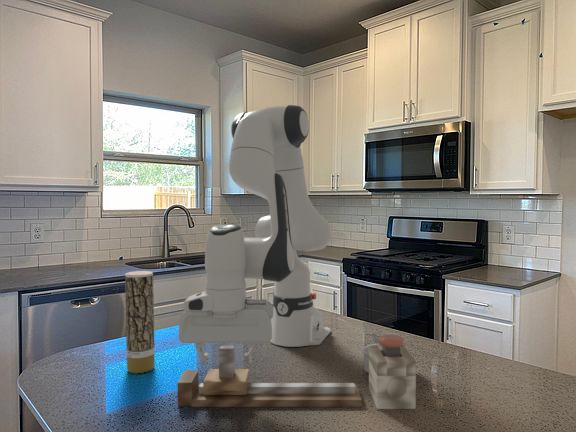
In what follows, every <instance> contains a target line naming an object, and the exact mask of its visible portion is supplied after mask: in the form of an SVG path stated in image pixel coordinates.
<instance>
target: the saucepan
mask: <svg viewBox="0 0 576 432" xmlns="http://www.w3.org/2000/svg"><path fill="white" fill-rule="evenodd" d="M371 337H372V339H373V340H374V342H375V343H372V344H368V345H366V346H364V347H362V352H363V369H364V371H365V372H366V373H368V374H369V346H381V345H380V344H379V337H378V336H377V333H371ZM407 351H408V352H409V350H408V349H407ZM409 353H410V352H409Z"/></svg>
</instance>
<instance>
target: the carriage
mask: <svg viewBox="0 0 576 432" xmlns="http://www.w3.org/2000/svg"><path fill="white" fill-rule="evenodd" d="M235 363H236V362H235V345H220V347H219V349H218V368H209V369H208V371H207V373H206V376H205V377H204V380H203V382H202V383H203V391H205V395H247V384H248V383H250V382H249V379H250V368H235V365H236V364H235Z"/></svg>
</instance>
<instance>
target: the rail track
mask: <svg viewBox="0 0 576 432" xmlns="http://www.w3.org/2000/svg"><path fill="white" fill-rule="evenodd" d="M407 350H408V349H407V348H406V346H404V345H403V346H402V347H400V357H384V356H383V354H382V346H369V373H368V390H369V392H370V395H371V397H372V400H373V402H374V404H375V407H376V409H377V410H416V409H417V408H416V399H417V398H416V394H417V393H416V392H417V388H416V387H417V384H416V383H417V382H416V381H417V361H416V359H414V357H413V355H411V353H410V352H408V351H409V350H408V351H407ZM199 373H200V372H199V369H184V371H183V373H182V374H181V376H180V378H179V380H178V381H177V383H176V384H177V387H176V388H177V406H179V407H182V406H183V407H187V406H188V407H191V408H206V407H207V408H213V407H214V408H261V407H262V408H296V407H297V408H298V407H299V408H307V407H308V408H309V407H310V408H335V407H336V408H362V407H363V399H362V396H361V393H360V390H359V387H358V385H357V383H355V382H249V383H248V384H247V395H205V391H203V382H201V383H199V382H200V381H199V380H200V379H199V377H200V376H199Z"/></svg>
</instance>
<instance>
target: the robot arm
mask: <svg viewBox="0 0 576 432" xmlns="http://www.w3.org/2000/svg"><path fill="white" fill-rule="evenodd" d="M309 123H310V122H309V117H308V114H307V112H306V110H305V109H304V108H303V107H302V106H299V105H294V104H288V105H286V106H285V105H282V106H279V105H278V106H268V107H265V108H259V109H256V110H251V111H243V112H241V113H239V114H237V115H236V116H235V117H234V119H233V120H232V122H231V127H230V129H231V137H232V143H231V147H230V152H229V153H230V154H229V159H228V161H229V162H228V163H229V164H228V167H229V169H228V171H229V172H228V173H229V175H230V177H231V179H232V180H233V182H234V183H235V185H237V186H238V187H240V188H241V189H242V190H244V191H246V192H248V193H251V194H252V195H255V196H258V197H261V198H263V199H264V200H266V201H267V202H268V205H269V215H265V216H261V218H259V219H258V221H257V223H256V225H255V230H254V233H255V234H254V235H255V237H247V236H245V235H244V230H243V227H242V226H240V225H237V224H232V223H231V224H229V223H228V224H227V223H226V224H221V225H220V224H218V225H214V226H212V227H211V228H210V229H208V230H207V234H206V239H205V240H206V242H205V251H204V268H205V272H206V280H205V281H206V282H205V284H204V290H203V291H200V292H198V293H194V294H192V295H190V296H188V297H187V298H186V299H185V300H184V302H183V310H184V312H182V314H181V315H180V318H179V324H178V340H179V341H180V342H181V343H182V344H194V345H195V350H196V352H197V353H198V354H199V356H200V363H201V364H206V363H208V362H210V359H209V358H210V357H209V356H210V355H209V354H210V353H209V352H206V351H205V350H204V348H203V346H204V345H205V344H248V346H249V347H248V348H250V349H249V350H248V352H244V354H243V358H244V360H243V364H244V363H245V364H250V363H252V354H253V353H254V351H255V350H256V348H257V344H268V343H272V344H273V345H276V346H281V347H290V348H291V347H292V348H293V347H294V348H295V347H298V348H299V347H305V346H319V345H321V344H322V343H323V341H324V340H325V339H326V338H327V337H328V336H329V334H330V333H331V332H332V331H331V330H332V329H331V328H330V327H328V326H324V316H323V315H324V314H323V313H321V312H320V311H319V310H318V309H317V308H316V307H315V306H314V301H315V300H316V299H317V293H316V292H313V293H312V292H311V271H310V268H309V266H307V264H305V263H304V262H303V261H302V260H301V258H300V257H299V255H298V253H297V251H301V252H313V251H320V250H323V249H325V248H326V247H327V246H328V244H329V243H330V241H331V237H332V228H331V226H330V224H329V221H328V220H327V218H325V217H323V215H321V214H320V213H319V212H318V211H317V209H316V208H315V207H314V205H313V203H312V201H311V199H310V197H309V194H308V190H307V184H306V175H305V168H304V160H303V159H304V158H303V154H302V149H301V146H302V144H303V143H304V142H305V140H306V139H307V137H308V135H309V131H310V127H309V126H310V124H309ZM246 279H248V280H249V279H250V280H264V281H269V282H273V284H274V285H273V286H274V287H273V289H274V294H273V296H272V303H271V301H268V300H267V299H264V298H263V299H248V298H247V282H246Z"/></svg>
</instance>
